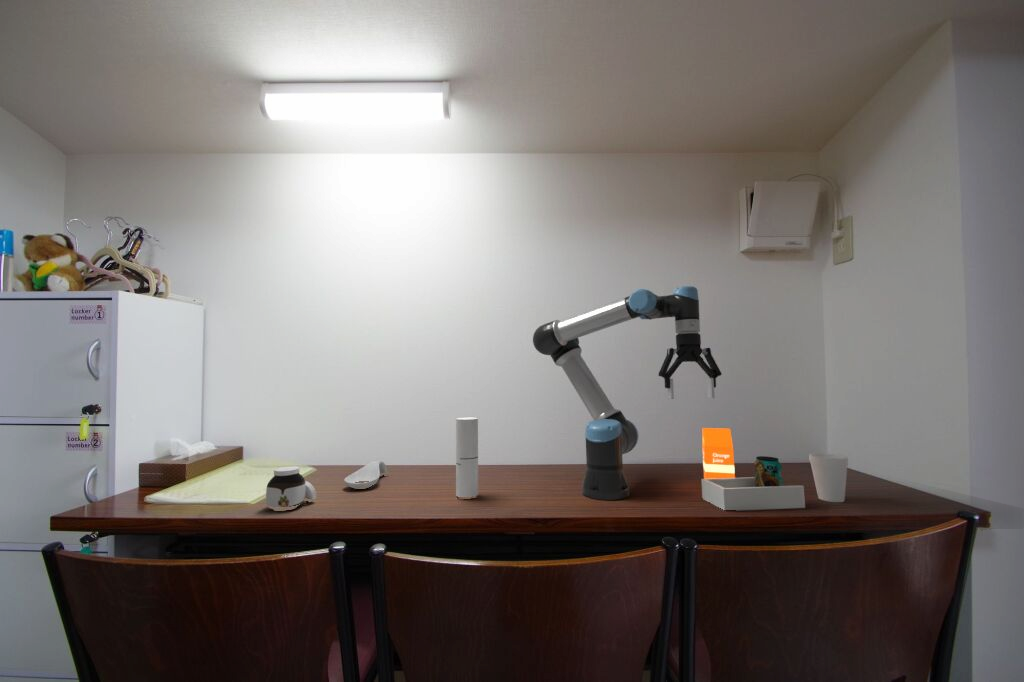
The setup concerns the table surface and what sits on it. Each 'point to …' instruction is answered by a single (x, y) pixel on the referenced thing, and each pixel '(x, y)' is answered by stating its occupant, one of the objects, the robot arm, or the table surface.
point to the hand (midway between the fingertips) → (691, 398)
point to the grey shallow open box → (750, 494)
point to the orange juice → (717, 453)
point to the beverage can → (767, 472)
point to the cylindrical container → (466, 457)
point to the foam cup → (829, 475)
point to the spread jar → (288, 488)
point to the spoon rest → (366, 475)
